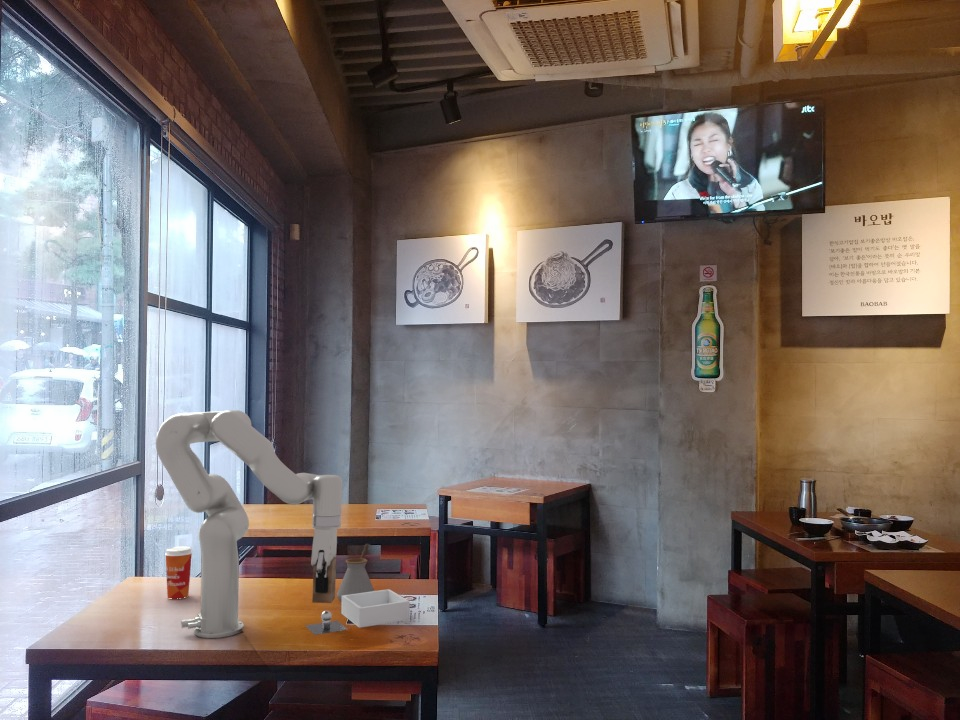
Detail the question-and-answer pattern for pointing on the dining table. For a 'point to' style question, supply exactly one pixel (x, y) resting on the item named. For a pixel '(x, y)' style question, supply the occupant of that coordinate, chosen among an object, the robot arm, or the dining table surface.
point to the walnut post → (331, 576)
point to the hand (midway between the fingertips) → (323, 588)
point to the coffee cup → (178, 571)
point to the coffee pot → (355, 577)
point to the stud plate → (322, 631)
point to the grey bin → (375, 608)
